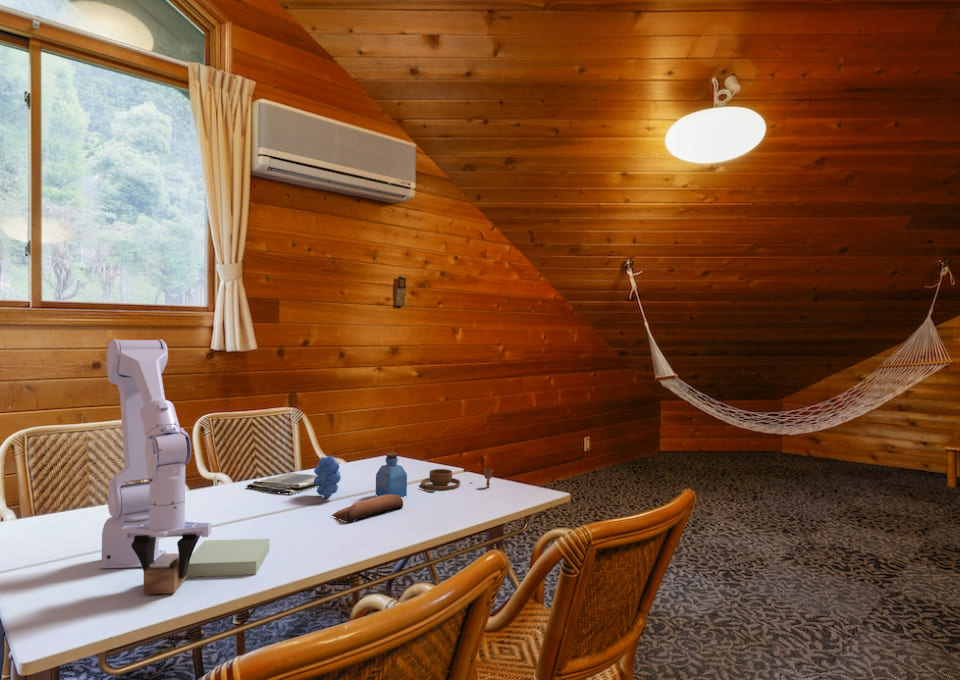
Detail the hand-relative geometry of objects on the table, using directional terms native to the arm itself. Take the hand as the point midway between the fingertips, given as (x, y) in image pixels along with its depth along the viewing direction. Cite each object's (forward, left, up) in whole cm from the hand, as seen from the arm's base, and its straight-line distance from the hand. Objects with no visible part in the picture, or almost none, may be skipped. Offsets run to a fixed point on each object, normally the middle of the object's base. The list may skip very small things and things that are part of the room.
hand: (166, 577), depth 110 cm
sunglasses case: (+34, +43, -3) cm, 55 cm away
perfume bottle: (+40, +59, -2) cm, 71 cm away
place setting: (+58, +67, -3) cm, 89 cm away
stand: (+8, +11, -2) cm, 14 cm away
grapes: (+23, +59, -2) cm, 63 cm away
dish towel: (+10, +74, -3) cm, 75 cm away
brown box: (0, 0, -2) cm, 2 cm away
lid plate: (0, 0, +2) cm, 2 cm away
